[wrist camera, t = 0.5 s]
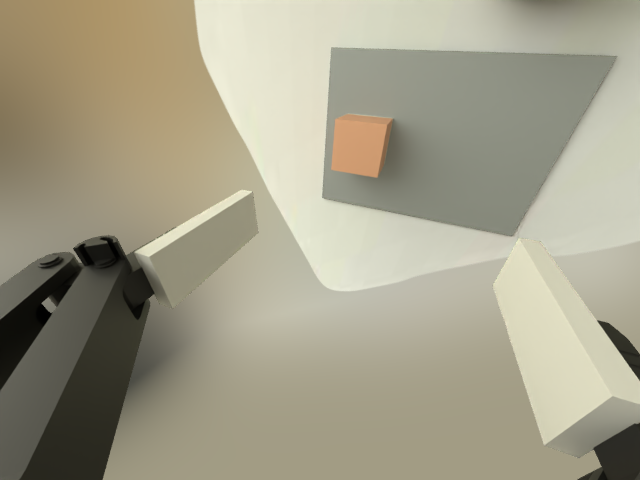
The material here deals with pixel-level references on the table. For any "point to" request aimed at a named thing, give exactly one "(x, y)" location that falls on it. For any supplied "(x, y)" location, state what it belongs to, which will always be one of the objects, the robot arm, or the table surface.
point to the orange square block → (360, 144)
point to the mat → (459, 128)
